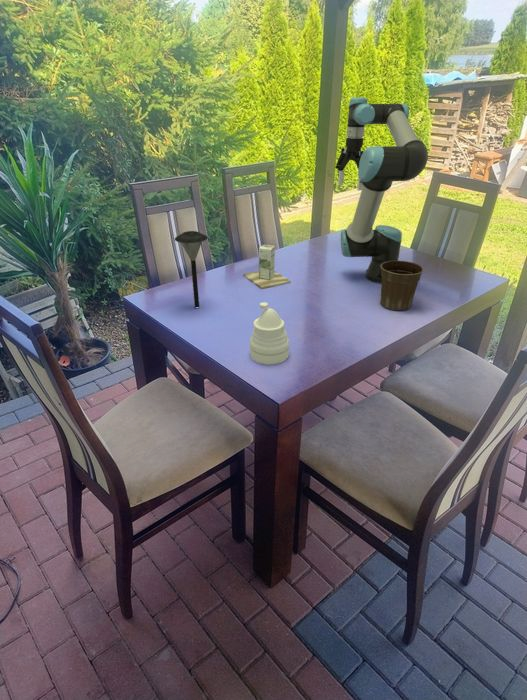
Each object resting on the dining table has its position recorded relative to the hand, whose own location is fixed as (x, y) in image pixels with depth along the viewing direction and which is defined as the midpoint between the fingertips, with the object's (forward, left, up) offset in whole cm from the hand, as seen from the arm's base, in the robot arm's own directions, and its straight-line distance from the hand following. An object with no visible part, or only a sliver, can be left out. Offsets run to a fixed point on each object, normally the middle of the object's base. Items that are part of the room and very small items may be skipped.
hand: (350, 187), depth 208 cm
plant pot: (-52, +13, -36) cm, 65 cm away
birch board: (-3, +46, -35) cm, 59 cm away
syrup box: (-4, +46, -35) cm, 58 cm away
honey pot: (-61, +77, -36) cm, 105 cm away
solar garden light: (-16, +85, -36) cm, 94 cm away
